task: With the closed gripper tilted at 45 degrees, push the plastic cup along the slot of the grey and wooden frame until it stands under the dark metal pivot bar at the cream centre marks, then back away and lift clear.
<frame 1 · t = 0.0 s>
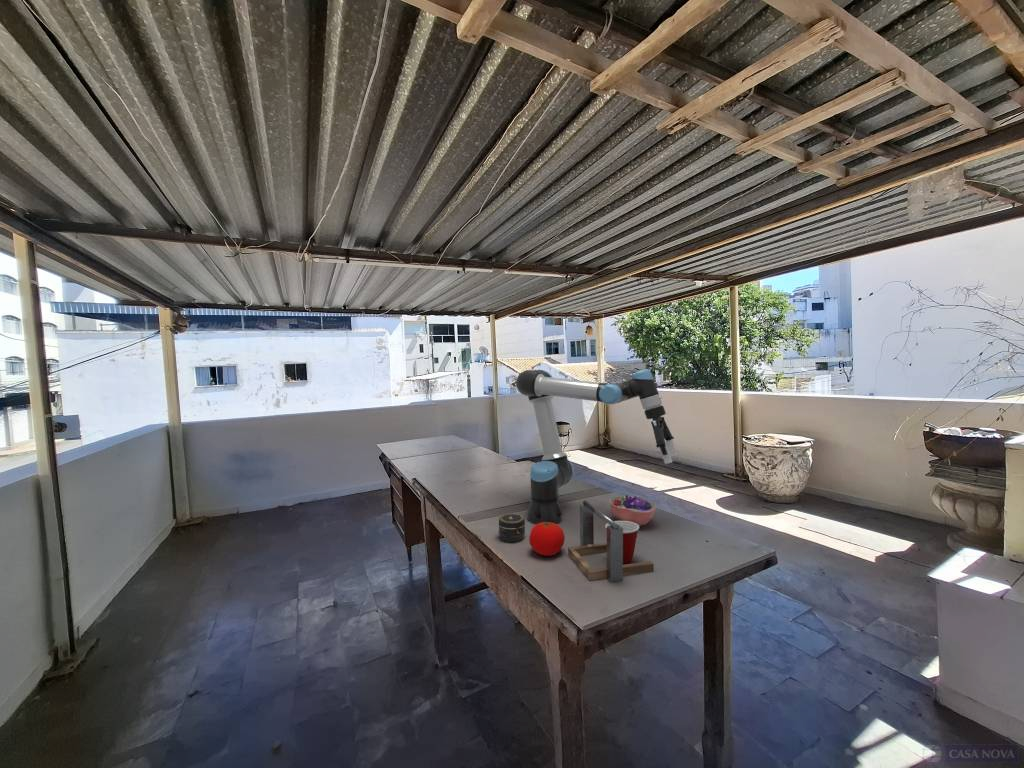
hand: (671, 459, 151), 28 cm above the table, tool tilted 20°, fingers open, 13 cm apart
jar: (511, 538, 147), on the table
tomato: (547, 553, 135), on the table
cell model: (631, 523, 160), on the table
grey and wooden frame: (599, 563, 126), on the table
plastic cup: (622, 561, 128), on the table
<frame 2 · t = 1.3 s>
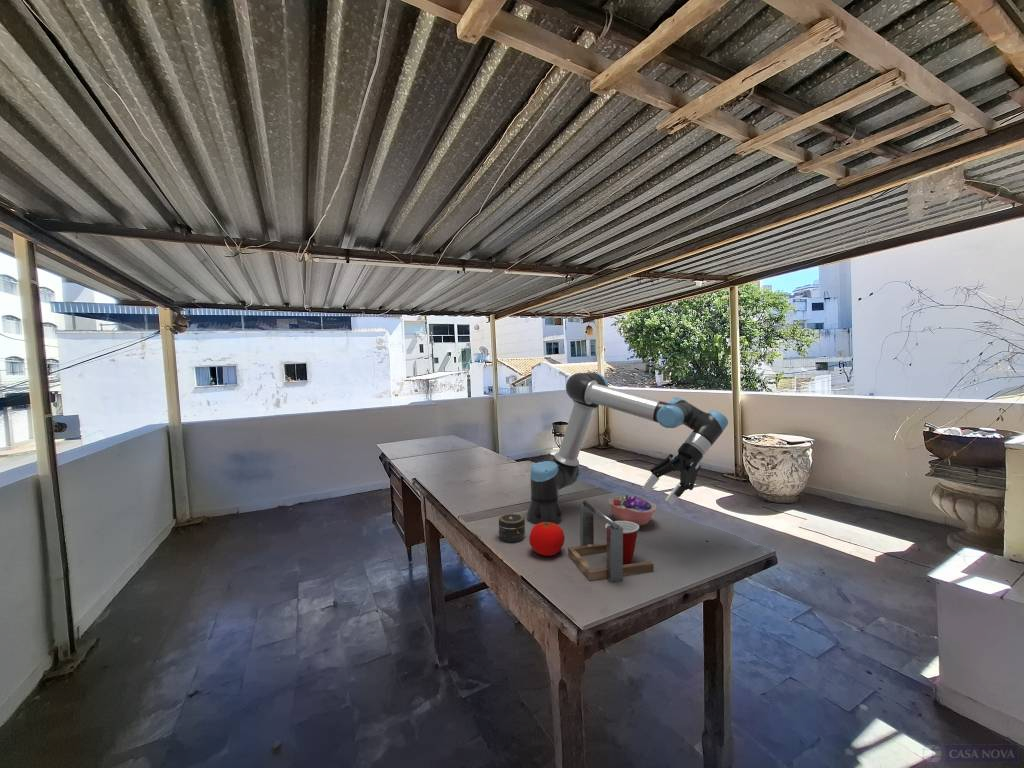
hand: (655, 496, 131), 20 cm above the table, tool tilted 45°, fingers open, 13 cm apart
nothing on the table moved.
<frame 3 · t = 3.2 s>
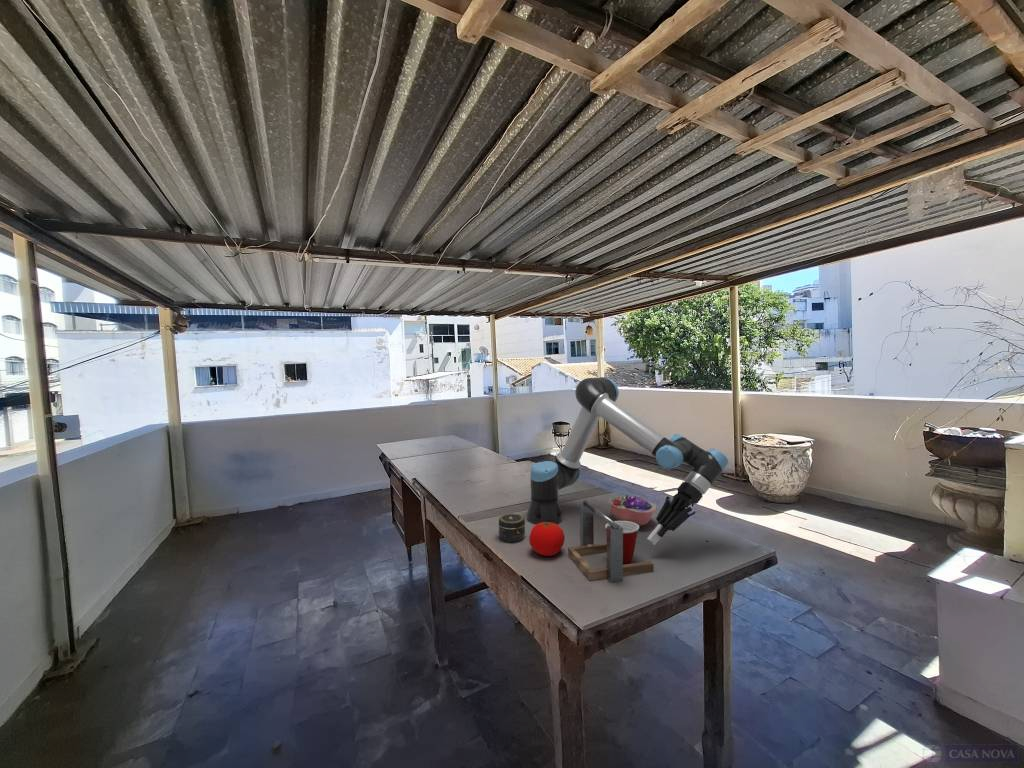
hand: (650, 541, 130), 5 cm above the table, tool tilted 45°, fingers closed
nothing on the table moved.
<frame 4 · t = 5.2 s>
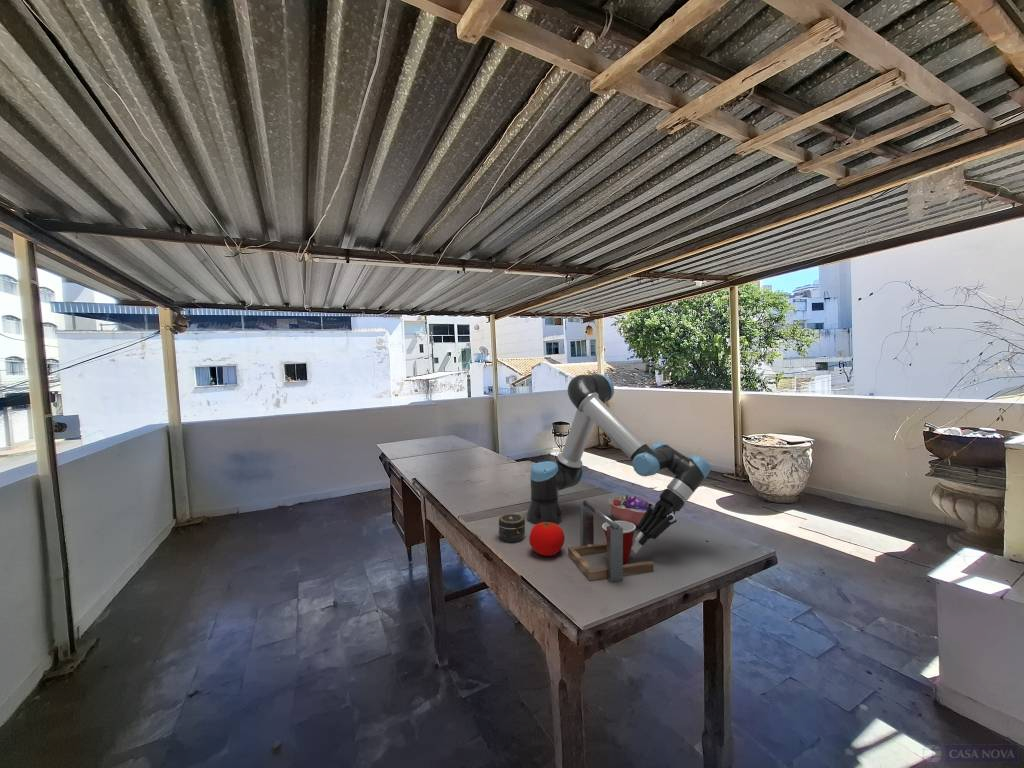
hand: (632, 550, 128), 3 cm above the table, tool tilted 45°, fingers closed
plastic cup: (618, 561, 128), on the table, touching gripper
everything else where it was.
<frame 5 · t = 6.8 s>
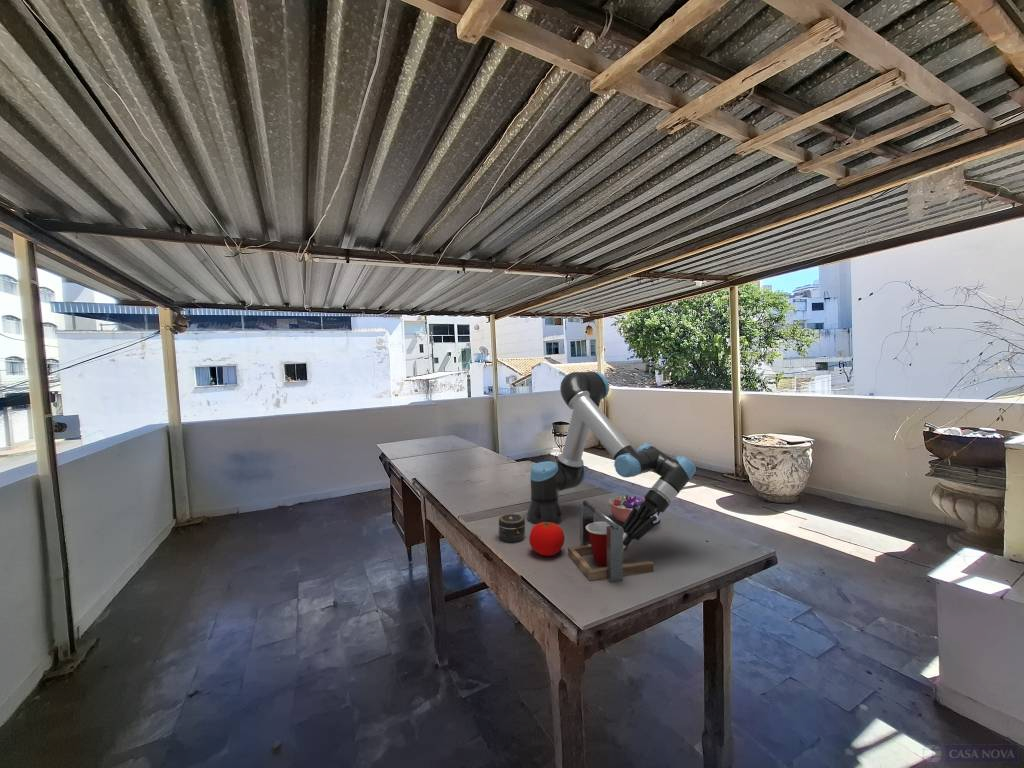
hand: (615, 551, 127), 4 cm above the table, tool tilted 45°, fingers closed
plastic cup: (602, 562, 127), on the table, touching gripper
everything else where it was.
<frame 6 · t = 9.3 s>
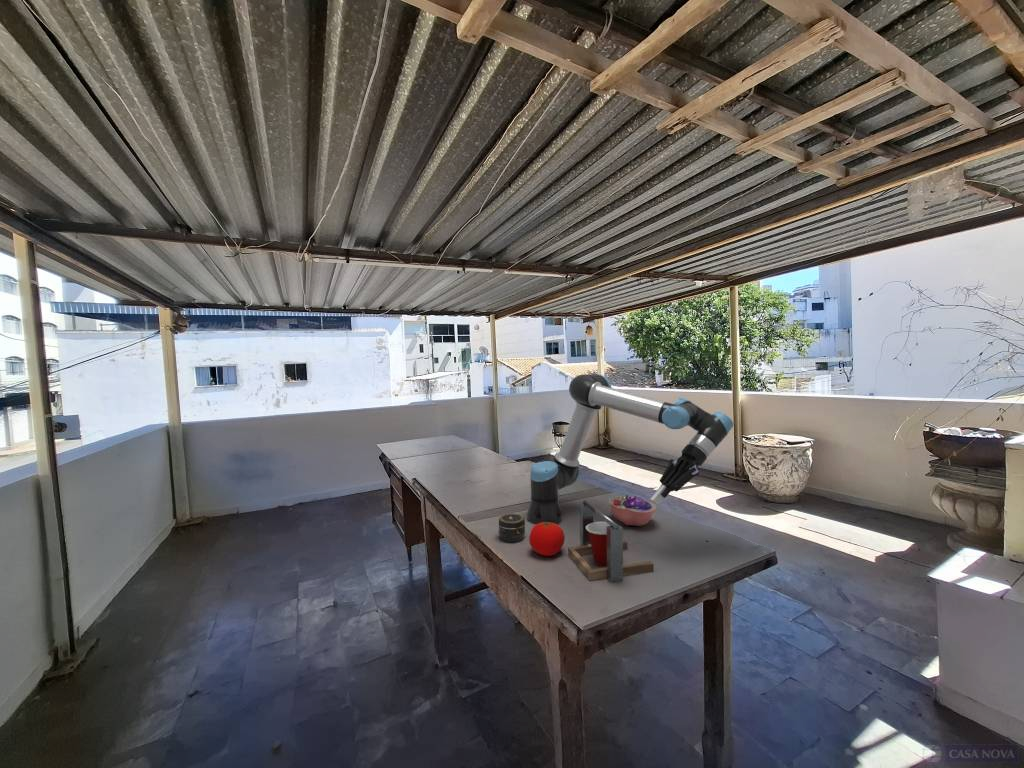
hand: (654, 502, 130), 18 cm above the table, tool tilted 45°, fingers closed
plastic cup: (602, 562, 127), on the table
everything else where it was.
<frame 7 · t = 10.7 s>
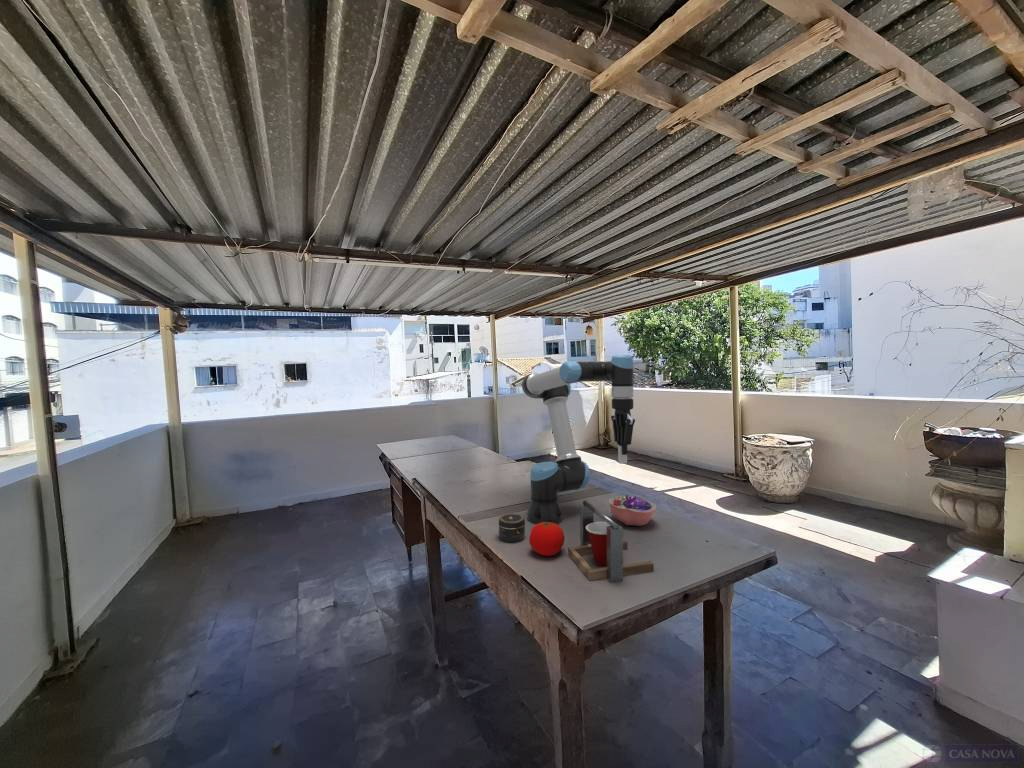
hand: (622, 462, 140), 29 cm above the table, tool pointing down, fingers closed
nothing on the table moved.
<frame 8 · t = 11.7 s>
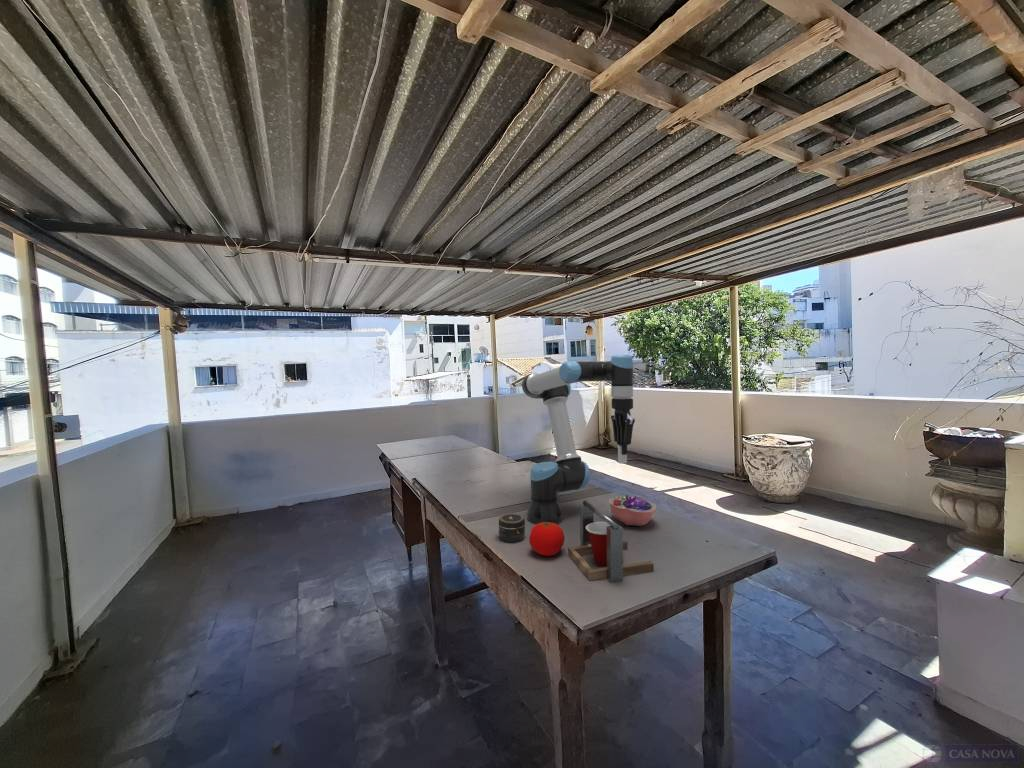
hand: (622, 462, 140), 29 cm above the table, tool pointing down, fingers closed
nothing on the table moved.
at the end: plastic cup inside the target area (1.5 cm from its centre), on the table; plastic cup tilted 0°; plastic cup moved 6.7 cm from its start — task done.
